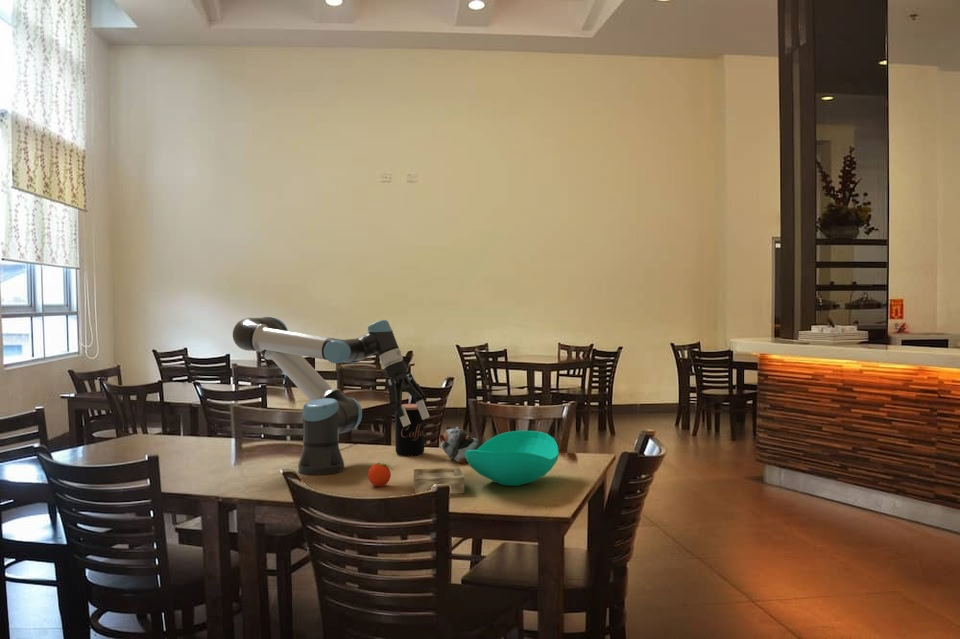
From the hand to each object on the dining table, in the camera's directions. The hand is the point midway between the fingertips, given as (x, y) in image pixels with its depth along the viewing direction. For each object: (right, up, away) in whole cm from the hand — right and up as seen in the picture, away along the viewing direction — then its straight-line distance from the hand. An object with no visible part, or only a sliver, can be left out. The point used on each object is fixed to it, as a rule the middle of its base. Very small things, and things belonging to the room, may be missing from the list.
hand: (416, 421), depth 268 cm
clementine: (-9, -16, -27) cm, 33 cm away
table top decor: (+31, -16, -25) cm, 43 cm away
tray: (+9, -16, -32) cm, 37 cm away
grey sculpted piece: (+15, -15, +11) cm, 24 cm away
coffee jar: (-5, -15, +26) cm, 30 cm away
